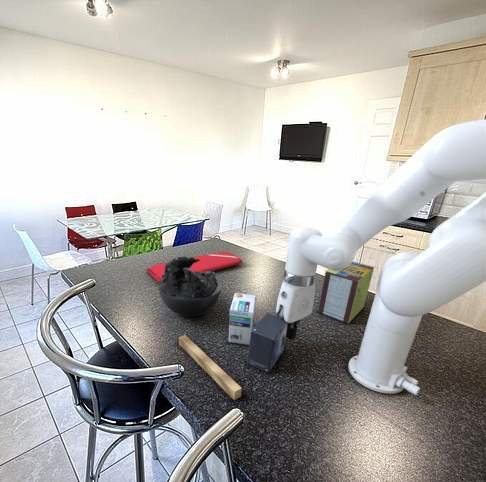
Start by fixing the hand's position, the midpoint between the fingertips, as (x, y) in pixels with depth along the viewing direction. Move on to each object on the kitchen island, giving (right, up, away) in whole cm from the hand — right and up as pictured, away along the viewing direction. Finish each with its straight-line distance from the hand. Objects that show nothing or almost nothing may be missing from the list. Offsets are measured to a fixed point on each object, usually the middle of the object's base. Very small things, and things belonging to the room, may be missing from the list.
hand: (288, 336), depth 81 cm
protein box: (+23, +5, +20) cm, 31 cm away
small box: (-7, -5, -4) cm, 10 cm away
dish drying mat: (-29, +20, +51) cm, 61 cm away
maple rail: (-23, -6, -8) cm, 25 cm away
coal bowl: (-29, +5, +17) cm, 33 cm away
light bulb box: (-13, 0, +6) cm, 14 cm away
